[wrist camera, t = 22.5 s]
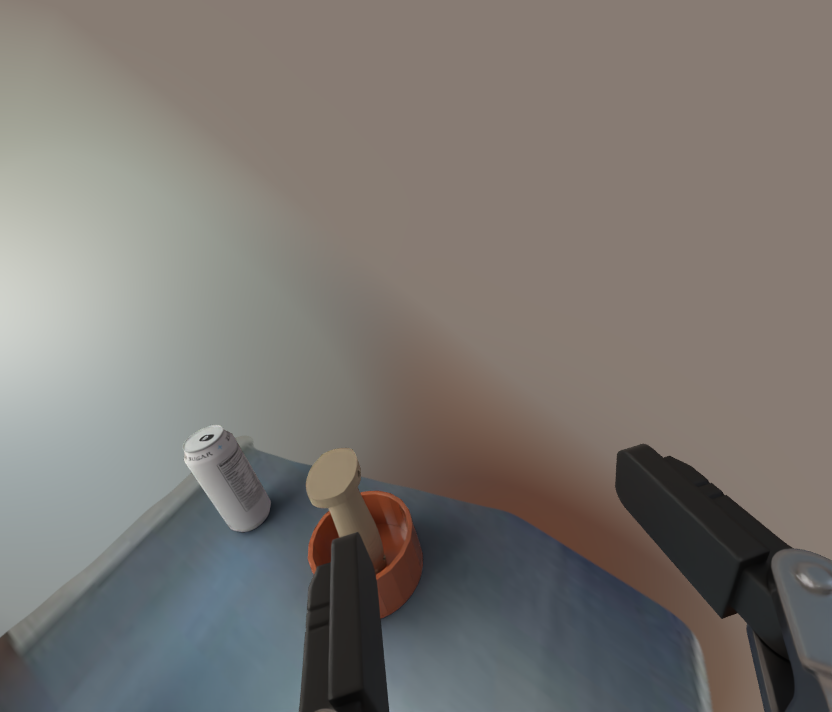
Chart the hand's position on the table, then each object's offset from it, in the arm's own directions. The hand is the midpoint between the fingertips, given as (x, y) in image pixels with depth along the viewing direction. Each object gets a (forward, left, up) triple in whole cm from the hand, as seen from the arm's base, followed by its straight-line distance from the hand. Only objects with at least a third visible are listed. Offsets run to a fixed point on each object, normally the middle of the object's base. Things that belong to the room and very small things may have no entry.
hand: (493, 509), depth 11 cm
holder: (+2, -23, -30) cm, 38 cm away
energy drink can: (+14, -41, -30) cm, 53 cm away
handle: (+2, -23, -30) cm, 37 cm away
